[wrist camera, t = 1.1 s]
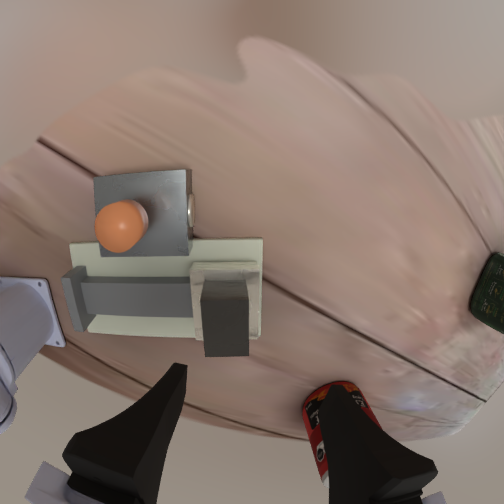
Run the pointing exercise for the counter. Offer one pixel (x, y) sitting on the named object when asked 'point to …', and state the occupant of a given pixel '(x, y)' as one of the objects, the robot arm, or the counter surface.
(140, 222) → the plunger
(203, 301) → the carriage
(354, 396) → the canned food
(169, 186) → the gauge box
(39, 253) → the counter surface
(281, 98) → the counter surface
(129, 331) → the track board
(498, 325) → the coffee jar
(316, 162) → the counter surface
